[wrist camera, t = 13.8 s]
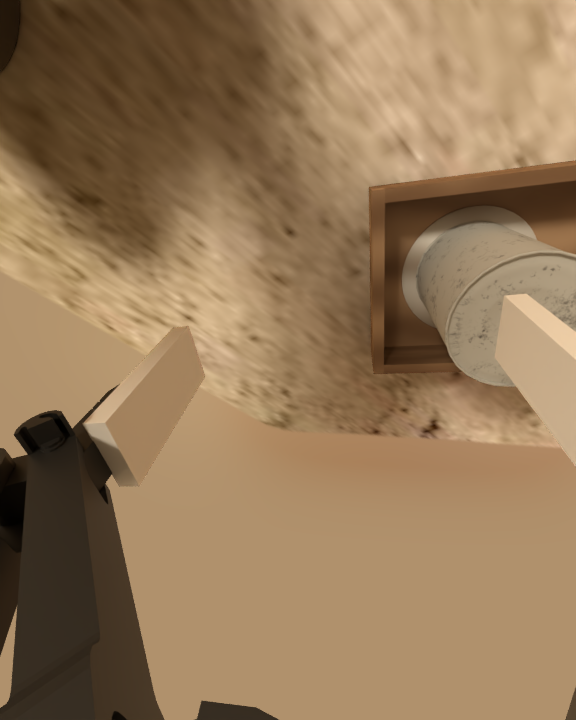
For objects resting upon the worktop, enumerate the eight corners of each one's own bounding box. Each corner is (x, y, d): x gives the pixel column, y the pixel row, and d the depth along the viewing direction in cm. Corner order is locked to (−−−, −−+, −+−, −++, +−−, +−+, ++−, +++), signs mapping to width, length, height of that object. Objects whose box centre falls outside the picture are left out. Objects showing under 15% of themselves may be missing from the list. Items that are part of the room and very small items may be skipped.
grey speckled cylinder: (483, 333, 36) (540, 405, 25) (397, 300, 35) (418, 358, 25) (549, 243, 31) (653, 285, 20) (450, 203, 30) (503, 225, 20)
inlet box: (368, 187, 32) (372, 190, 28) (653, 150, 28) (709, 148, 23) (371, 351, 40) (373, 373, 36) (591, 342, 36) (624, 367, 31)
